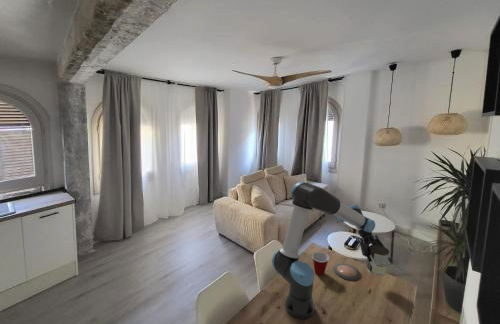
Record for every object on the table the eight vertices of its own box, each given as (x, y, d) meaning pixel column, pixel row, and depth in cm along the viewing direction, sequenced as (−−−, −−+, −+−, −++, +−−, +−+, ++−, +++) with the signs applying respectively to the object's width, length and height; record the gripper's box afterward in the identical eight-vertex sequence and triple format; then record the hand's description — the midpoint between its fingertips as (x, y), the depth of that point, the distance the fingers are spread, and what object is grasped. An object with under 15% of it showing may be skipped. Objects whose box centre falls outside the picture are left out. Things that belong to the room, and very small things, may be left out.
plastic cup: (307, 268, 157) (309, 252, 155) (323, 267, 159) (324, 251, 157) (314, 279, 147) (316, 261, 144) (330, 277, 148) (332, 260, 146)
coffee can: (363, 268, 143) (366, 247, 140) (372, 263, 148) (375, 242, 146) (380, 278, 134) (383, 255, 132) (389, 272, 140) (392, 250, 138)
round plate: (335, 278, 148) (336, 276, 148) (332, 263, 163) (332, 261, 163) (362, 282, 145) (363, 280, 145) (356, 266, 161) (356, 265, 160)
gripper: (372, 228, 156) (390, 263, 145) (345, 233, 148) (362, 270, 137) (380, 224, 151) (399, 260, 139) (353, 229, 142) (371, 267, 131)
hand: (381, 265), depth 138 cm, fingers closed on coffee can, 10 cm apart
